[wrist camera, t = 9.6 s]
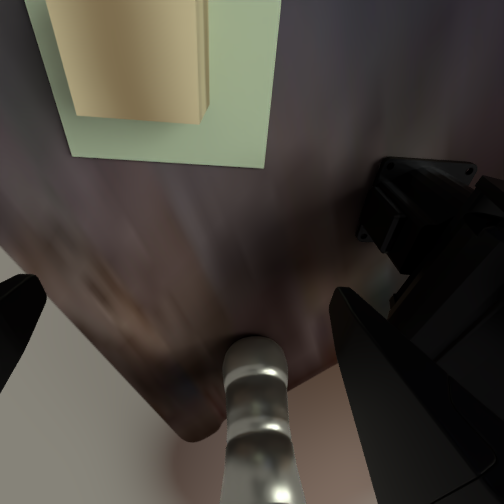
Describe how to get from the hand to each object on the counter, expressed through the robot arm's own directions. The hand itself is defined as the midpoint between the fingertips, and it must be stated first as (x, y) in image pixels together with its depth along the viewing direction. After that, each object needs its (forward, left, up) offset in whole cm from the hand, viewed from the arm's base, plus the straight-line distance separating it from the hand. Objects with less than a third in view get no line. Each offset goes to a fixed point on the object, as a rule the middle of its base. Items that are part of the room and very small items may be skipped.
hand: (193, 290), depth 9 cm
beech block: (+3, -6, -12) cm, 13 cm away
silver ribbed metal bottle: (-4, +20, -12) cm, 24 cm away
